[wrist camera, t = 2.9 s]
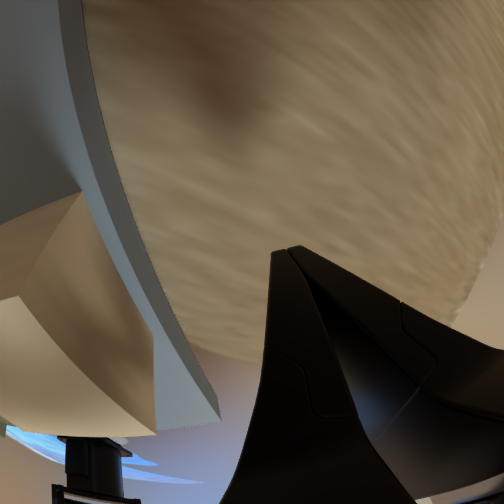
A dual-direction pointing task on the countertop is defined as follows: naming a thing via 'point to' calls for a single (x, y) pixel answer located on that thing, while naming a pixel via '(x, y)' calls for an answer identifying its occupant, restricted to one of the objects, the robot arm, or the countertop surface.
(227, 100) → the countertop surface
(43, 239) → the maple block
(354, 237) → the countertop surface
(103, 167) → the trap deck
